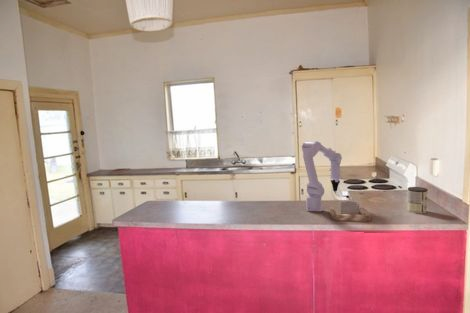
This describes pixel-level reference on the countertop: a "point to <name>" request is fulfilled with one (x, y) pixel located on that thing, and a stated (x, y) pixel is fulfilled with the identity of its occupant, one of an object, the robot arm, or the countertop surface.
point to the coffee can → (417, 200)
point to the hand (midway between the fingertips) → (335, 190)
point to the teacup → (349, 207)
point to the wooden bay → (351, 215)
